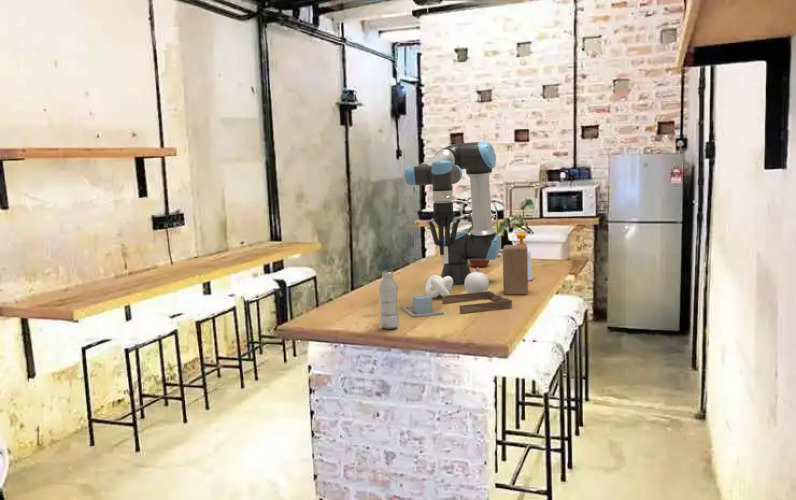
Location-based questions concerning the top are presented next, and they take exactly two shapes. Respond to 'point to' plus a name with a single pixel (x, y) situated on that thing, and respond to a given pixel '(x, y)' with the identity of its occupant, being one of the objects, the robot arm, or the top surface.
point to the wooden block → (515, 270)
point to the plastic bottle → (388, 301)
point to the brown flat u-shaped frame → (497, 305)
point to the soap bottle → (521, 237)
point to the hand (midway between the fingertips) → (445, 262)
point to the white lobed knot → (438, 286)
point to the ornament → (476, 282)
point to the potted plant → (475, 262)
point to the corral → (419, 314)
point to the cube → (422, 304)
